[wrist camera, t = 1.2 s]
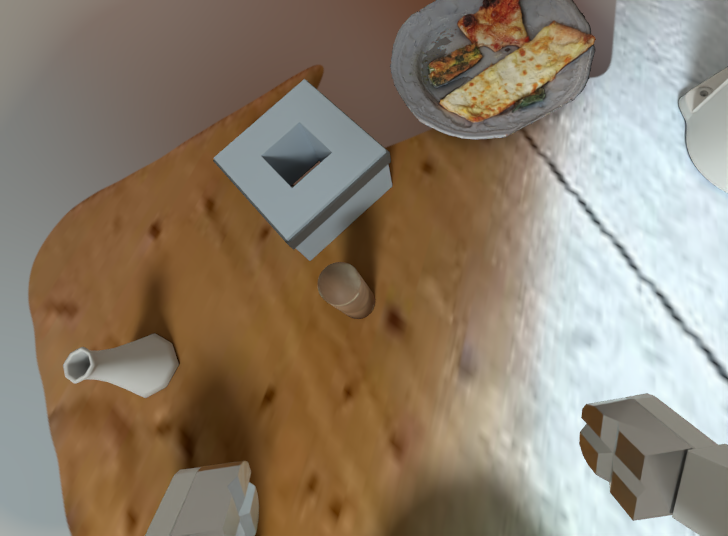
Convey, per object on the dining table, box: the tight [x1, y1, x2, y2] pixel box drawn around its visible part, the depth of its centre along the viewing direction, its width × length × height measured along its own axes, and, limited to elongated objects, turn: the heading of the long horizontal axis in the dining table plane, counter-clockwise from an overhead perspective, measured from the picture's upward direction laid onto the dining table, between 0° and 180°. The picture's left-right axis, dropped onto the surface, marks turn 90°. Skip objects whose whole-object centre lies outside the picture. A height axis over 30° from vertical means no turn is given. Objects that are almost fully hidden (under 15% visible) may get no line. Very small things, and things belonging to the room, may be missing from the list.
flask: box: [63, 334, 179, 398], centre depth 39 cm, size 7×7×10 cm
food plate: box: [390, 0, 596, 139], centre depth 46 cm, size 25×23×4 cm
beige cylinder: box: [318, 262, 375, 319], centre depth 37 cm, size 4×4×10 cm
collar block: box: [213, 79, 392, 261], centre depth 43 cm, size 14×14×8 cm
